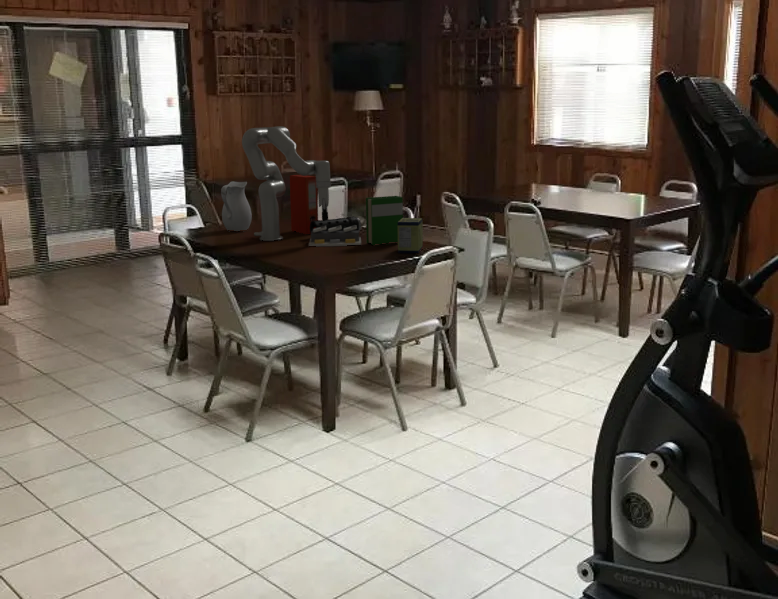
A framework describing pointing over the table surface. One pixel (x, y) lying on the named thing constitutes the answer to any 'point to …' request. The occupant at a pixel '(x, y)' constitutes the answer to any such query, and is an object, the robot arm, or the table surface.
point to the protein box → (410, 235)
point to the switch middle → (334, 228)
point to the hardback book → (383, 219)
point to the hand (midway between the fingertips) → (325, 219)
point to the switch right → (350, 228)
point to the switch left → (319, 229)
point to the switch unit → (335, 238)
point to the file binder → (303, 202)
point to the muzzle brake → (337, 223)
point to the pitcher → (235, 207)
